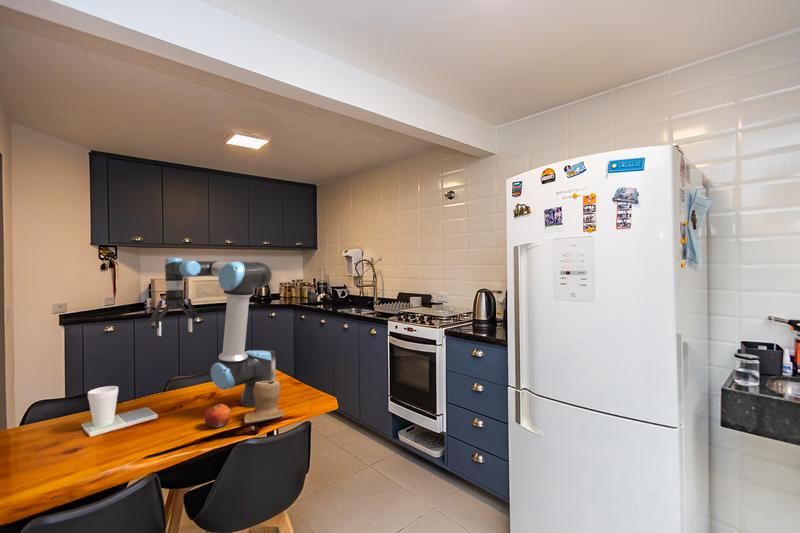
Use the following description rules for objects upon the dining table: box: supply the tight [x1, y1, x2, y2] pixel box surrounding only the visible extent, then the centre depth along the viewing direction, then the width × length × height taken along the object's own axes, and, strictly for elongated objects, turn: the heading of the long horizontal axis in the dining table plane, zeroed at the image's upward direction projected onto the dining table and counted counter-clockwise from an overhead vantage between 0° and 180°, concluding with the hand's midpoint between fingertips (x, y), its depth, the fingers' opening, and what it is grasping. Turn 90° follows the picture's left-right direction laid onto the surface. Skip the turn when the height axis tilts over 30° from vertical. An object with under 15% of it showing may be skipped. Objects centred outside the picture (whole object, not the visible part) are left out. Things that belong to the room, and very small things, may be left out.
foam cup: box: [87, 385, 119, 426], centre depth 147 cm, size 10×9×13 cm
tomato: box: [204, 403, 231, 428], centre depth 146 cm, size 9×9×8 cm
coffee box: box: [267, 349, 276, 381], centre depth 202 cm, size 9×6×16 cm
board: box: [81, 406, 159, 437], centre depth 151 cm, size 14×22×2 cm, turn 140°
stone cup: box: [243, 380, 284, 424], centre depth 152 cm, size 15×12×15 cm
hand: (175, 333), depth 180 cm, fingers open, 13 cm apart
